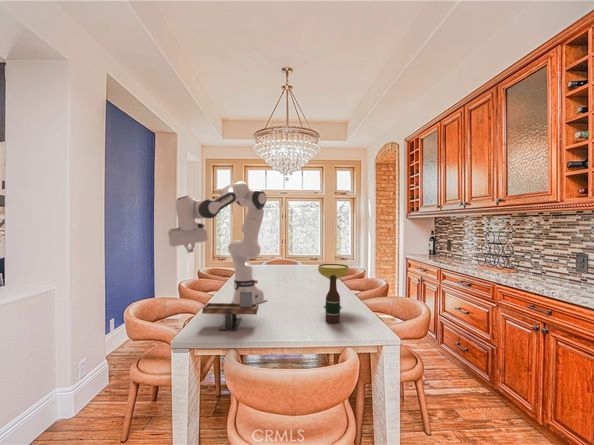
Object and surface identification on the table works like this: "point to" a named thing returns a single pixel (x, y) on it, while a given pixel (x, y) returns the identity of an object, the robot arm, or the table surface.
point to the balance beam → (228, 308)
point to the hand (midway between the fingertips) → (190, 252)
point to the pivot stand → (230, 322)
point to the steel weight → (246, 298)
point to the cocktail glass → (333, 271)
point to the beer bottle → (333, 302)
